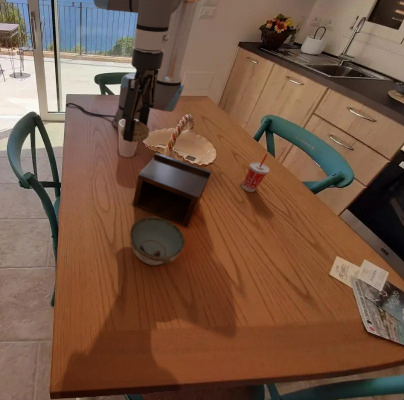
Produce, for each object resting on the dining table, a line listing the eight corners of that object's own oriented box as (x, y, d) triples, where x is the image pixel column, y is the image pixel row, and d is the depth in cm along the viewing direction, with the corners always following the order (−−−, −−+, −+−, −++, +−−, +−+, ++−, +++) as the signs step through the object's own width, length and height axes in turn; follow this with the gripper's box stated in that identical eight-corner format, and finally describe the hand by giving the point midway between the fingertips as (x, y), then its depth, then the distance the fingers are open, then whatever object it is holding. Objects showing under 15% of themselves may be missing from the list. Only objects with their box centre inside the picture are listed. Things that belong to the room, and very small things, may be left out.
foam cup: (112, 155, 109) (115, 125, 100) (119, 145, 115) (122, 116, 106) (134, 161, 106) (139, 131, 98) (140, 150, 113) (145, 121, 104)
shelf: (132, 204, 87) (139, 171, 78) (148, 184, 95) (155, 152, 87) (186, 227, 80) (200, 194, 71) (198, 203, 89) (211, 171, 80)
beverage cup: (259, 188, 97) (279, 154, 88) (254, 195, 94) (273, 161, 84) (243, 180, 100) (260, 147, 91) (236, 187, 97) (254, 154, 87)
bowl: (165, 286, 65) (173, 267, 60) (117, 261, 70) (120, 241, 65) (183, 249, 74) (192, 230, 69) (139, 229, 79) (144, 209, 74)
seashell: (152, 123, 81) (150, 124, 74) (148, 142, 83) (145, 144, 76) (126, 118, 83) (121, 118, 76) (122, 137, 85) (117, 138, 77)
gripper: (144, 61, 56) (129, 153, 71) (178, 45, 71) (160, 124, 86) (113, 54, 59) (105, 144, 74) (152, 40, 73) (139, 118, 88)
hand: (135, 134), depth 80 cm, fingers closed on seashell, 9 cm apart
